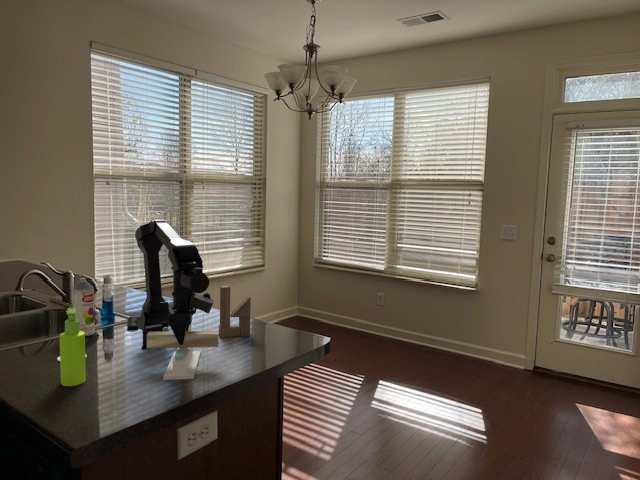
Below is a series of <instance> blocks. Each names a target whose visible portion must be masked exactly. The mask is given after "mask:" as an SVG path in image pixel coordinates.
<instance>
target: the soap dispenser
mask: <svg viewBox="0 0 640 480" xmlns="http://www.w3.org/2000/svg"><path fill="white" fill-rule="evenodd" d="M75 311H76V307H74V308H72V307H68V308H66V316H67V317H68V318H67V319H66V320H65V321H64V332H62V333H60V334H59V356H60V361H59V363H60V365H59V366H60V385H62V386H64V387H74V386H79V385H81V384H83V383H85V382H86V380H87V379H86V378H87V377H86V375H87V373H86V372H87V371H86V357H85V354H86V337H85V332H83V331H79V320H78V319H76V314H75Z"/></svg>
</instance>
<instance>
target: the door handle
mask: <svg viewBox="0 0 640 480" xmlns="http://www.w3.org/2000/svg"><path fill="white" fill-rule="evenodd" d="M139 317H140V315H131V316H129V317H128V318H127V330H128V331H130V330H133V331H136V330H139V328H138V323H137V322H138V319H139ZM164 331H166V332H169V326H168V327H164Z"/></svg>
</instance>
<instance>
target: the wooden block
mask: <svg viewBox="0 0 640 480" xmlns="http://www.w3.org/2000/svg"><path fill="white" fill-rule="evenodd" d="M219 294H220V295H219V325H218V331H219V339H221V338H222V339H223V338H231V337H232V338H233V337H234V338H235V337H250V336H251V309H252V308H251V307H252V306H251V304H252V303H251V300H252V298H251V296H250V295H248V294H247V296H246V297H245V298H244V299H243V300H242V301H241V302H240V303H239V304H238V306H236V308H234V309H233V310H232V311H231V286H229V285H221V286H220V287H219ZM231 318H238V324H231Z"/></svg>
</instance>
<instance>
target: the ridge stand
mask: <svg viewBox="0 0 640 480" xmlns="http://www.w3.org/2000/svg"><path fill="white" fill-rule="evenodd" d="M176 349H177V350H176V351H174V352H173V354H172V356H171V359H170V361H169V363H168V366H167V368H166V370H165V372H164V374H163V377H162V379H163V381H168V380H169V381H170V380H171V381H172V380H173V381H174V380H194V379H195V376H196V372H197V368H198V365H199V361H200V358H201V355H202V354H201V353H202V351H201V350H194V348H176Z"/></svg>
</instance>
